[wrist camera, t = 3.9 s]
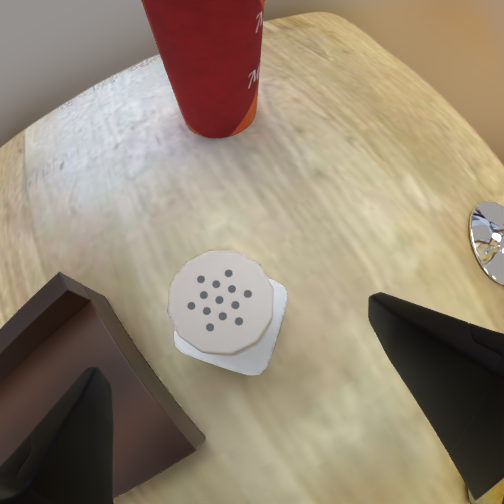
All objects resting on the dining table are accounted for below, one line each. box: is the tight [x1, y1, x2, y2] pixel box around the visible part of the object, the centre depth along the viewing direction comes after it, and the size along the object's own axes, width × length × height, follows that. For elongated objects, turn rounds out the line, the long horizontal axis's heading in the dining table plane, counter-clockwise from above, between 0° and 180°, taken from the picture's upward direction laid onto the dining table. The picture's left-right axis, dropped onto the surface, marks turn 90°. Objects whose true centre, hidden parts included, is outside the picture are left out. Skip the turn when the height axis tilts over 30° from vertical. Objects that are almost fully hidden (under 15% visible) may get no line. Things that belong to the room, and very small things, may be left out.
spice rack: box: [0, 272, 205, 498], centre depth 13 cm, size 11×16×6 cm
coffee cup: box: [142, 0, 265, 138], centre depth 17 cm, size 8×8×15 cm
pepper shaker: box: [167, 250, 288, 376], centre depth 13 cm, size 4×4×10 cm
